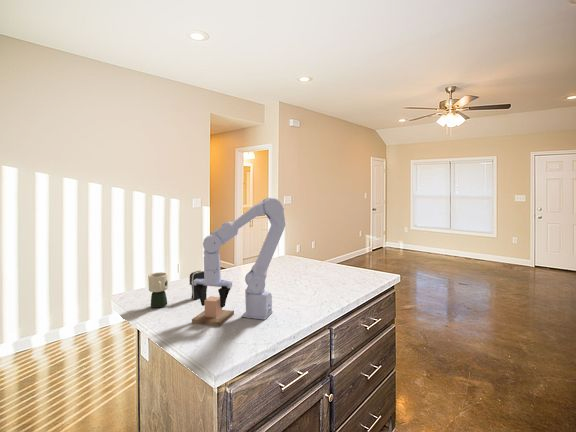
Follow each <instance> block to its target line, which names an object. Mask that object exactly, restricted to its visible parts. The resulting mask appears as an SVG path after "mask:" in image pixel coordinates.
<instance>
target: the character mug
mask: <svg viewBox="0 0 576 432" xmlns="http://www.w3.org/2000/svg"><path fill="white" fill-rule="evenodd" d="M147 281H148V291H149V292H151V297H150V307H152V308H156V307H157V308H160V307H165V306H167V305H168V299H167V293H166V291H167V290H168V289H169V288H168V287H169V284H168V283H169V282H168V272H154V273H150V274H148V280H147Z"/></svg>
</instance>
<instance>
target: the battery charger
mask: <svg viewBox="0 0 576 432" xmlns="http://www.w3.org/2000/svg"><path fill="white" fill-rule="evenodd" d="M195 279H204V270H197V271H196V270H195V271H194V272H191V273H190V274H189V285H190V286H191V296H190V297H191V299H192V300H198V299H200V298H199V296H198V294H197V292H196V291H195V287H196V285H194V281H193V280H195ZM207 295H208V294H207V293H206V296H207Z"/></svg>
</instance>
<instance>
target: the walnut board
mask: <svg viewBox="0 0 576 432" xmlns="http://www.w3.org/2000/svg"><path fill="white" fill-rule="evenodd" d="M234 315H235V311H234V310H227V309H222V314H221V315H219V316H218V317H217V318H213V317H205V310H203V311H202V312H200V313H199V314H197V315H196V316H194V317H192V319H191V324H194V325H203V326H214V327H222V326H223V325H224V324H225V323H227V321H229V320H230V318H232V317H233V316H234Z"/></svg>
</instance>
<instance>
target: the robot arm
mask: <svg viewBox="0 0 576 432" xmlns="http://www.w3.org/2000/svg"><path fill="white" fill-rule="evenodd" d="M284 213H285V208H284V206H283V205H282V202H281V201H280V200H279V199H277V198H272V197H265V198H264V199H263V200H262V201H259V202H257V203H256V204H254V205H253V206H251V207H250V208H249V209H247V211H245V212H244V213H243V214H241V215H240V216H239V217H238V218H237V219H235V220H234V221H227V222H222V223H221V226H220V227H219V228H217V229H216V230H214V231H211V232H210V234H209V235H207V236H206V237H205V238H204V239H203V242H202V247H203V249H204V251H203V255H204V256H203V271H204V279H195V280H193V281H194V285H196V287H195V291H196V292H197V294H198V296H199V298H198V299H199V300H200V301H199V302H200V304H201V306H202V307H205V305H204V300H206V299H207V295H206V294H207V293H208V292H207V291H208V287H215V288H217V287H218V288H219V289H217V292H218V295H219V297H220V307H221V308H222V309H223V308H224V307H225V306H226V303H227V299H228V295H229V293H230V291H231V289H232V287H233V281H232V280H231V281H230V280H225V279H221V277H222V274H221V273H222V272H221V255H220V249H221V247H222V246H224V245H225V244H227V243H228V242H229V241H230V240H232V239H233V238H235V237H236V236H237V235H238V233H239V229H240V228H243V227H244V226H245V225H246V224H248V223H249V222H251V221H252V220H253V219H255V218H257V217H267V219H268V221H269V224H270V227H269V229H268V231H267V234H266V237H265V239H264V242H263V244H262V245H261V249H260V251H259V254H258V255H257V258H256V260H255V263H254V264H253V265H252V267H251V269H250V270H249V272H247V274H246V275H245V278H244V281H245V284H246V285H247V287H246V289H245V299H244V300H245V312H244V313H242V314H241V317H242V318H249V319H256V320H266V319H268V318H269V316H270V315H271V314H273V312H274V310H273V298H272V297H273V296H272V293H271V292H270V291H269V292H268V291H266V290H265V287H266V278H267V274H268V268H269V267H270V264H271V261H272V259H273V256H274V255H275V252H276V249H277V248H278V247H277V246H278V244H279V242H280V239H281V237H282V235H283V232H284V231H285V227H286V220H285V219H286V218H285V214H284Z"/></svg>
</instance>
